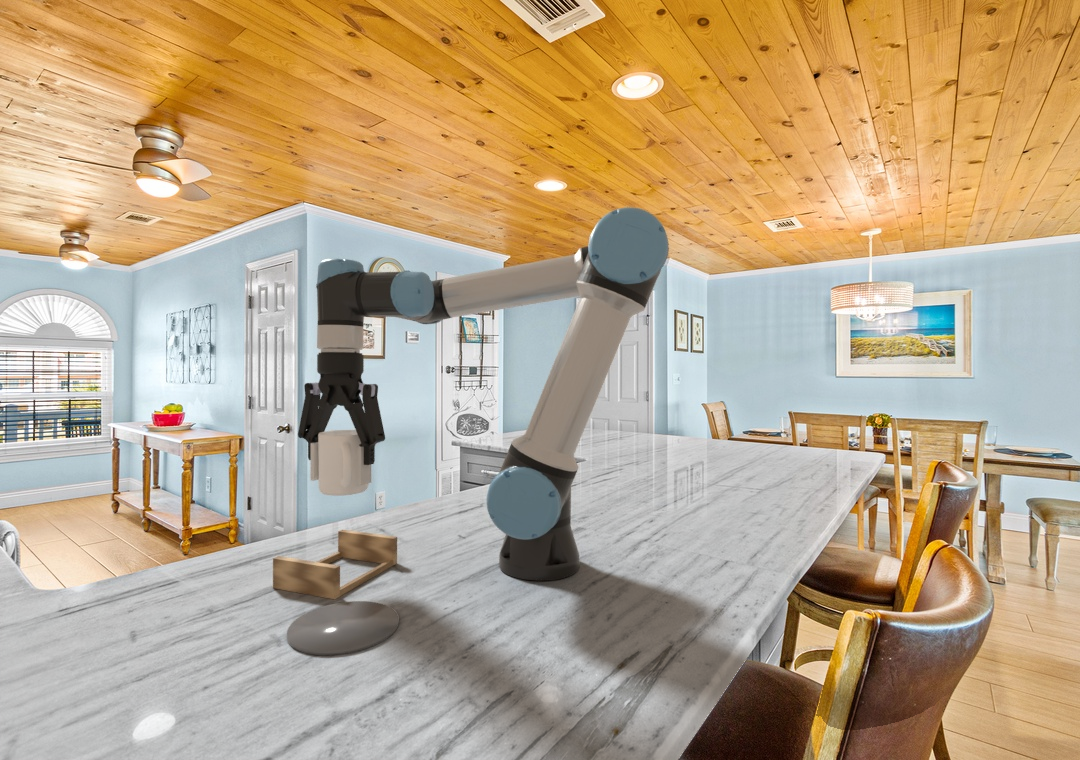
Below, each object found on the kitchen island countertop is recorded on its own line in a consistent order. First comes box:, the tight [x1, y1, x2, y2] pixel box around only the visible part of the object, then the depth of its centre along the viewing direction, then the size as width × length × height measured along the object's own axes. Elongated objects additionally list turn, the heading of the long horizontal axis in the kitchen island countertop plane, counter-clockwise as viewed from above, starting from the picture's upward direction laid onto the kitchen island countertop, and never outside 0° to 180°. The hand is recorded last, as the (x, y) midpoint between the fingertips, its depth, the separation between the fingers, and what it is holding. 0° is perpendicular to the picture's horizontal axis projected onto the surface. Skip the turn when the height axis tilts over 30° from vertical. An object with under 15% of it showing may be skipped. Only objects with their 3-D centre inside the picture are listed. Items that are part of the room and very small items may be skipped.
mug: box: [318, 429, 370, 497], centre depth 95 cm, size 12×8×10 cm
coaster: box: [286, 600, 400, 656], centre depth 79 cm, size 15×15×1 cm
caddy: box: [272, 529, 398, 600], centre depth 98 cm, size 13×17×5 cm
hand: (340, 481), depth 95 cm, fingers closed on mug, 9 cm apart
